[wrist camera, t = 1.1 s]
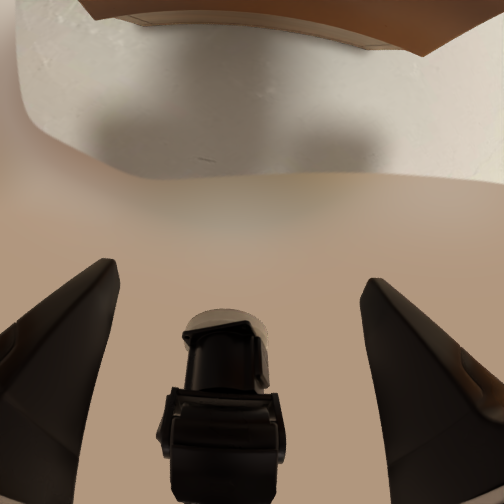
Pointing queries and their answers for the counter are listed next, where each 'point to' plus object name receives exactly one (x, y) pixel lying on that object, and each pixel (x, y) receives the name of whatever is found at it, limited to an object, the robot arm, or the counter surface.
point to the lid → (340, 15)
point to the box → (258, 25)
